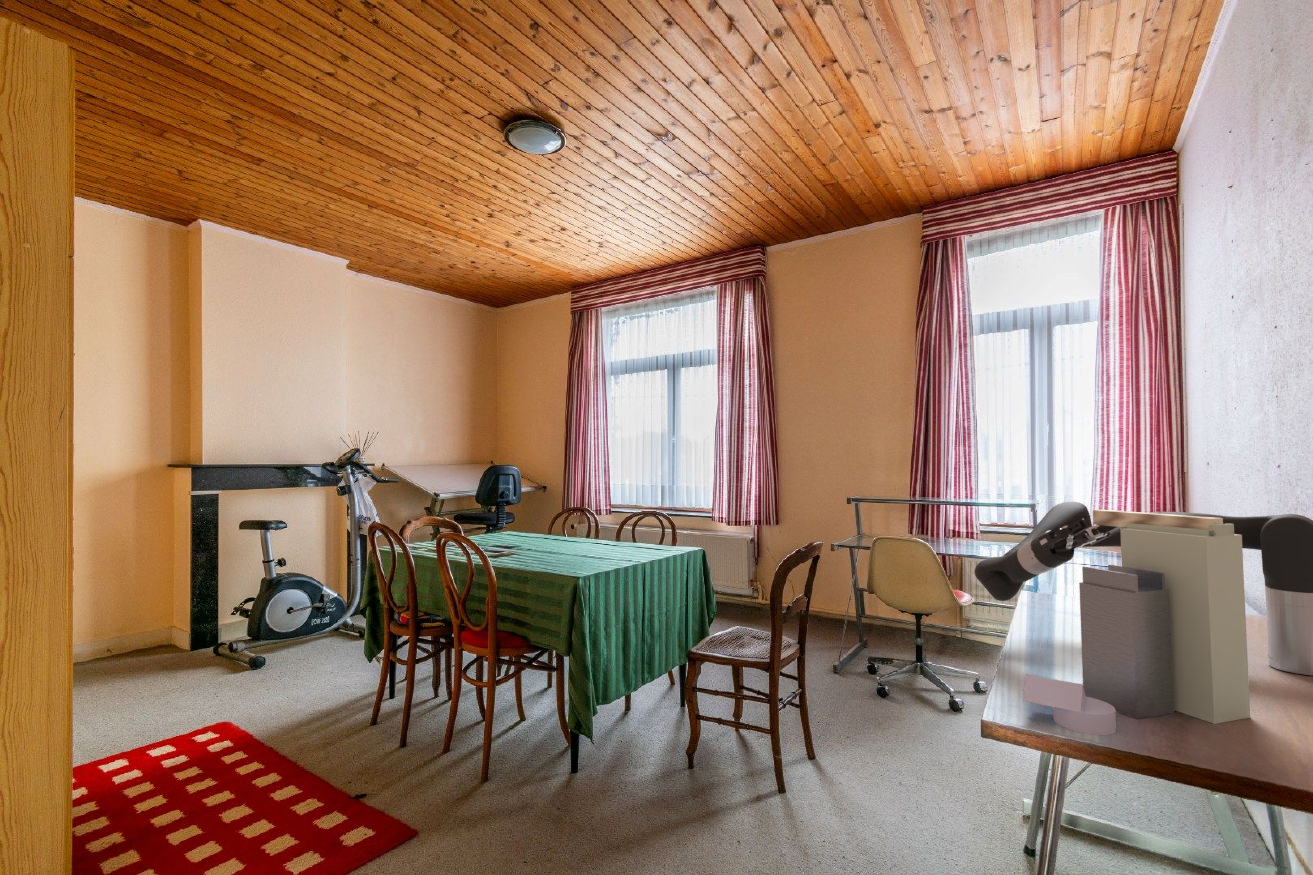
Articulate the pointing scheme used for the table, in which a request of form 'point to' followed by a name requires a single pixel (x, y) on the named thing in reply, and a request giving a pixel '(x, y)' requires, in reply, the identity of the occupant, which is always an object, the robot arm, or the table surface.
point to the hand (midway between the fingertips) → (1101, 521)
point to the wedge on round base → (1071, 705)
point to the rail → (1152, 519)
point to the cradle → (1127, 640)
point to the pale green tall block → (1200, 613)
